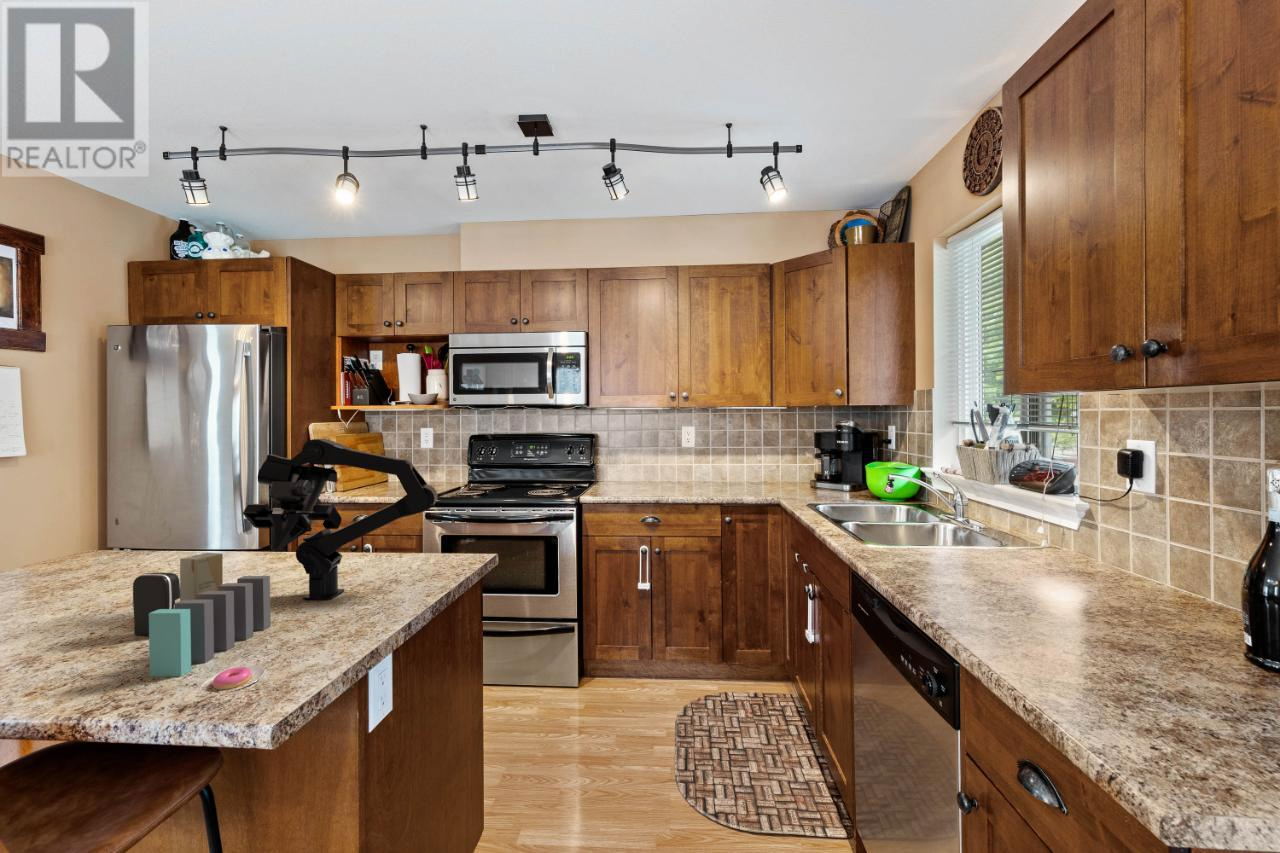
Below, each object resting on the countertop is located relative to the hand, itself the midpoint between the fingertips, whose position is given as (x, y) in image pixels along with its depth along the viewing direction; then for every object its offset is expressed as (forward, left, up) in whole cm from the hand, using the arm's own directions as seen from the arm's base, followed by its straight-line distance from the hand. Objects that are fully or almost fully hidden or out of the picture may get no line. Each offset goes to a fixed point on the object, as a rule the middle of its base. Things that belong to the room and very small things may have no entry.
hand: (276, 549), depth 120 cm
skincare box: (-2, -17, -14) cm, 22 cm away
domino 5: (+7, 0, -14) cm, 16 cm away
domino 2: (+22, 0, -14) cm, 26 cm away
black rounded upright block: (+9, -17, -14) cm, 24 cm away
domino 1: (+27, 0, -14) cm, 31 cm away
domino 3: (+17, 0, -14) cm, 22 cm away
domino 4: (+12, 0, -14) cm, 18 cm away
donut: (+29, +13, -14) cm, 35 cm away
